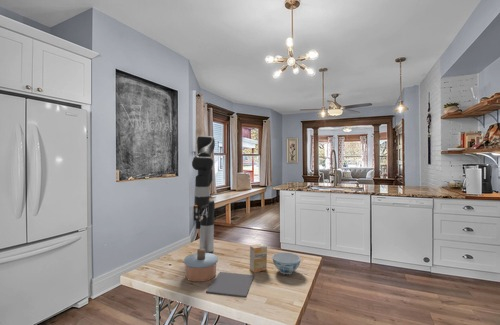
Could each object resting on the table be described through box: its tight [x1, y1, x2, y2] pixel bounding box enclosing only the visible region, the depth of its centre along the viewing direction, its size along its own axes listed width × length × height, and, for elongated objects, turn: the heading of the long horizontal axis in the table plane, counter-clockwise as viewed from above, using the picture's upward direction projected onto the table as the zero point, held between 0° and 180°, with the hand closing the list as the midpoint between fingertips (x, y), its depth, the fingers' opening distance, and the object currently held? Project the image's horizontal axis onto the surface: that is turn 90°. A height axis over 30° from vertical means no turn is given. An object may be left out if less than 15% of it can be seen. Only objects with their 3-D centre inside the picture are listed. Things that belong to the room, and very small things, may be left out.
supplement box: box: [249, 243, 268, 273], centre depth 131 cm, size 8×5×13 cm, turn 117°
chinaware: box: [272, 251, 302, 275], centre depth 129 cm, size 15×15×8 cm
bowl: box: [185, 263, 217, 283], centre depth 124 cm, size 15×15×7 cm
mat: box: [206, 271, 255, 298], centre depth 115 cm, size 20×18×1 cm
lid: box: [183, 248, 219, 268], centre depth 124 cm, size 17×17×6 cm
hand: (201, 226), depth 125 cm, fingers open, 8 cm apart
